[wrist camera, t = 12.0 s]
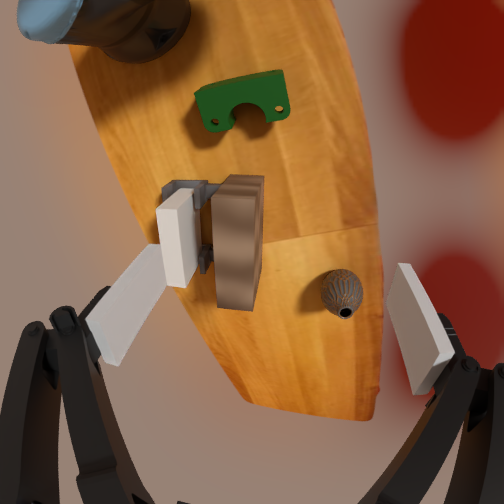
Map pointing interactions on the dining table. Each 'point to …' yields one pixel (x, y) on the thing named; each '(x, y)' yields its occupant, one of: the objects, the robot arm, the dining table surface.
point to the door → (179, 236)
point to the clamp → (242, 98)
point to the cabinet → (231, 235)
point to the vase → (342, 293)
